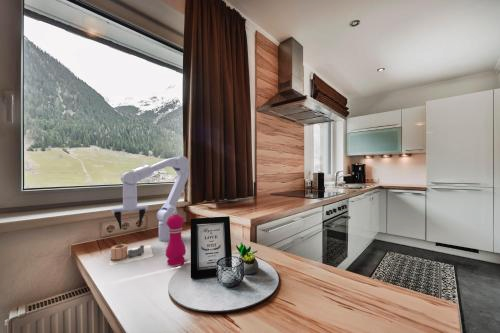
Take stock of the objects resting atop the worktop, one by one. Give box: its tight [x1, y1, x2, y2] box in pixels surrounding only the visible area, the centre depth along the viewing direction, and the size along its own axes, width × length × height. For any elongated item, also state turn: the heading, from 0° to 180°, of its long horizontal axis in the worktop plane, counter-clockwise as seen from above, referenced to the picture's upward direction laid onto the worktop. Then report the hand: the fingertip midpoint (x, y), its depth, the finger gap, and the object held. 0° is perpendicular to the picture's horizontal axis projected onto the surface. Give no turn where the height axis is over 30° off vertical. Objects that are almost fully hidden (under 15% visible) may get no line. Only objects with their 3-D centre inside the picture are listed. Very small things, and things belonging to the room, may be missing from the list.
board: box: [109, 244, 154, 266], centre depth 91 cm, size 15×16×1 cm
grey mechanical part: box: [128, 245, 145, 258], centre depth 90 cm, size 6×5×3 cm
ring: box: [110, 243, 129, 260], centre depth 87 cm, size 6×6×4 cm
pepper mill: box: [165, 211, 187, 268], centre depth 82 cm, size 7×7×20 cm
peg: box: [110, 244, 128, 261], centre depth 87 cm, size 6×6×5 cm
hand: (130, 227), depth 99 cm, fingers open, 7 cm apart
